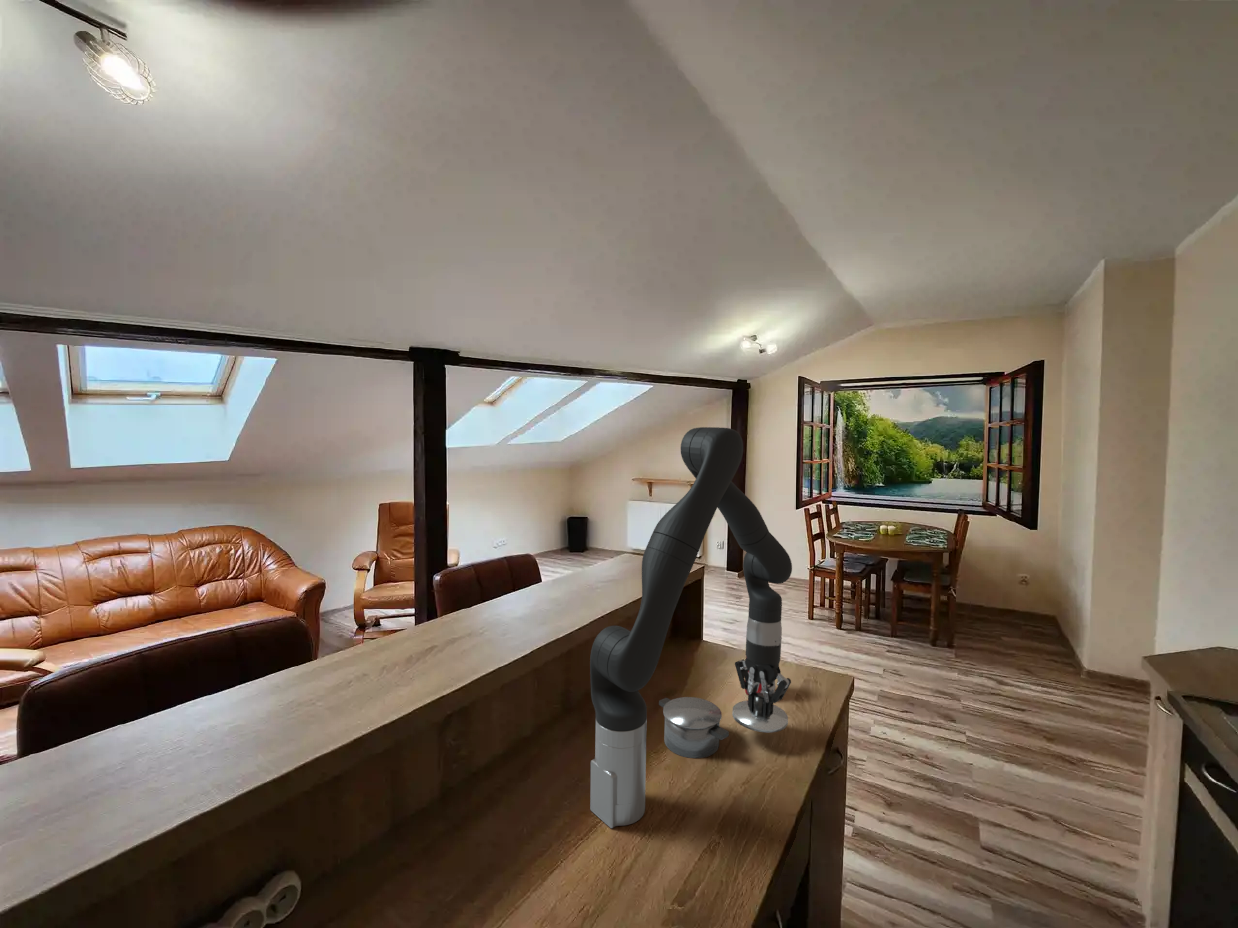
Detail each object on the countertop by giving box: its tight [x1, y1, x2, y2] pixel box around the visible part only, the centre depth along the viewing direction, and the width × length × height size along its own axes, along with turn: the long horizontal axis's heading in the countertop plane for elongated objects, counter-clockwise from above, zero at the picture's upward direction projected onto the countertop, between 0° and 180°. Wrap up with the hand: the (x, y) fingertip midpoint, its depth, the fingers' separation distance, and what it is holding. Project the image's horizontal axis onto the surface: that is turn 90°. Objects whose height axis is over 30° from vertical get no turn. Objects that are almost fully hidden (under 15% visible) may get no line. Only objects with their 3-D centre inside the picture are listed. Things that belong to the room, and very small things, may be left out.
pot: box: [658, 696, 730, 759], centre depth 122 cm, size 13×18×7 cm
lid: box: [731, 693, 789, 733], centre depth 123 cm, size 12×12×5 cm
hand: (760, 712), depth 123 cm, fingers closed on lid, 3 cm apart
